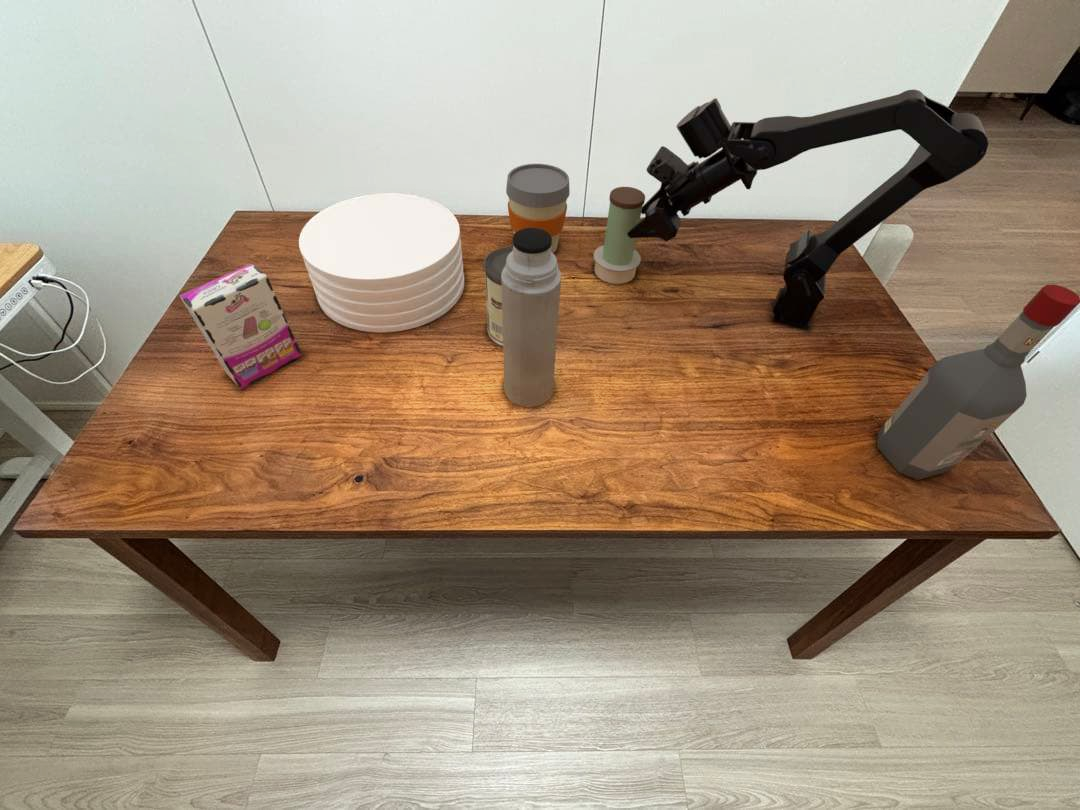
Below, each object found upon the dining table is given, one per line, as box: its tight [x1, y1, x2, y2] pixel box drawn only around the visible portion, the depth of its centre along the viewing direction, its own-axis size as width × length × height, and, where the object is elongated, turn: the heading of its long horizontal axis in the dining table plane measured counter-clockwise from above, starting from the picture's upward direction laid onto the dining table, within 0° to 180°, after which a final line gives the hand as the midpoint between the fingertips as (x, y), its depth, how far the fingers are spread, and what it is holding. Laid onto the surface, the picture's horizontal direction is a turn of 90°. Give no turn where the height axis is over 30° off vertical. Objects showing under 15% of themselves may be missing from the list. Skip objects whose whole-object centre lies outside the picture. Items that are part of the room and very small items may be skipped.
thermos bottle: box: [501, 228, 562, 408], centre depth 77 cm, size 8×8×28 cm
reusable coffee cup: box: [505, 163, 571, 254], centre depth 109 cm, size 12×13×15 cm
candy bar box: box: [179, 263, 303, 390], centre depth 83 cm, size 11×5×16 cm, turn 137°
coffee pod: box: [593, 244, 641, 285], centre depth 109 cm, size 9×9×4 cm
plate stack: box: [298, 192, 465, 333], centre depth 100 cm, size 28×28×12 cm
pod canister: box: [603, 186, 646, 265], centre depth 102 cm, size 6×6×13 cm
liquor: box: [876, 284, 1080, 481], centre depth 70 cm, size 9×9×30 cm
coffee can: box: [483, 245, 513, 347], centre depth 92 cm, size 10×10×14 cm
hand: (634, 223), depth 101 cm, fingers open, 9 cm apart
